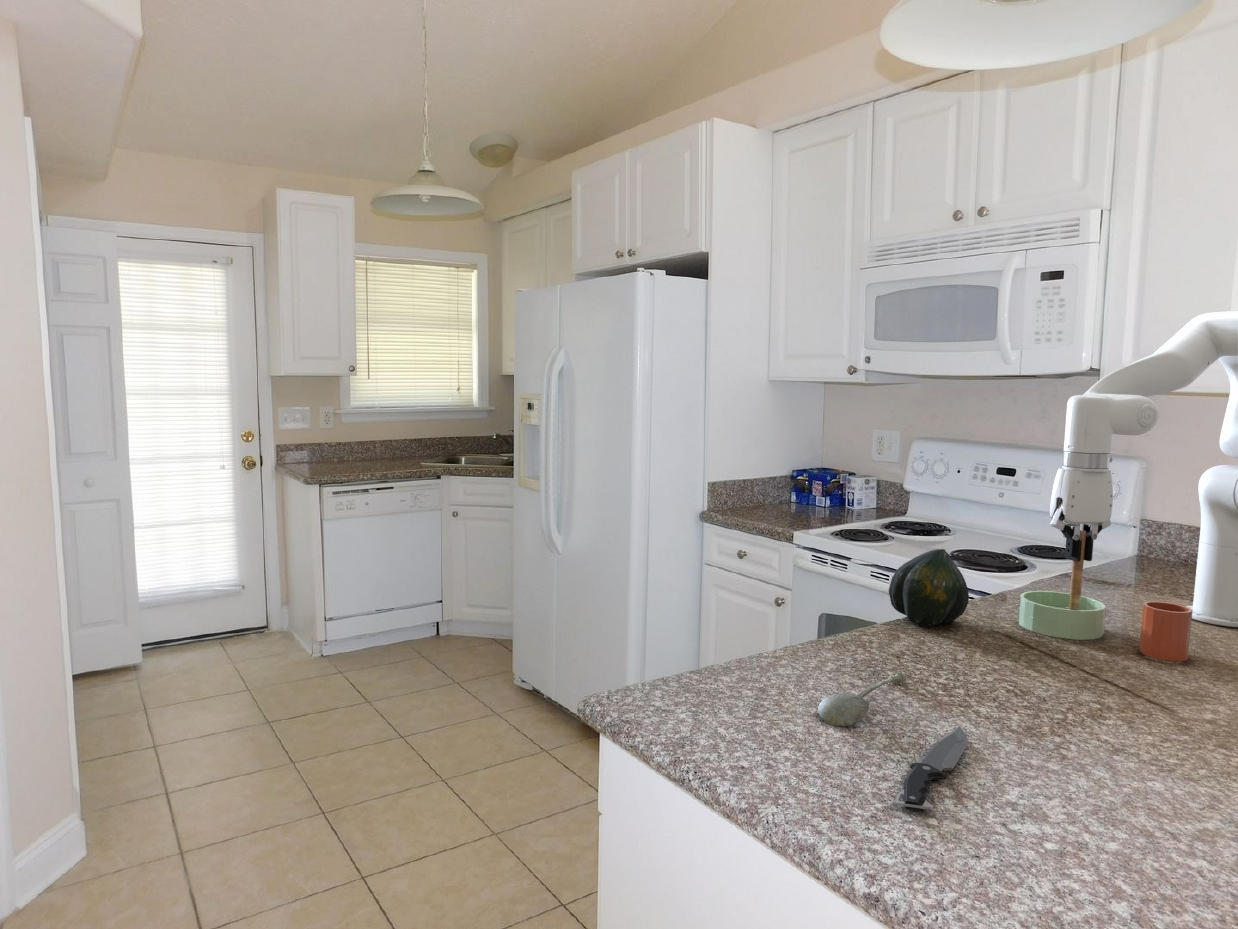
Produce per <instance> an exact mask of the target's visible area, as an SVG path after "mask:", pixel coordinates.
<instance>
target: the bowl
mask: <svg viewBox="0 0 1238 929" xmlns="http://www.w3.org/2000/svg"><path fill="white" fill-rule="evenodd" d="M1069 601H1070V592H1061V591H1055V590H1054V591H1053V590H1052V591H1051V590H1029V591H1025V592H1022V593H1021V594H1019V607H1018V619H1017V620H1018V625H1019V626H1021V627H1022V628H1023V629H1025V630H1028V631H1030V632H1032V633H1036V634H1039V635H1043V636H1047V637H1052V638H1057V639H1065V640H1075V641H1077V640H1078V641H1087V640H1097V639H1101V638H1102V637H1104V634H1105V621H1106V613H1107V612H1106V611H1107V606H1106V604H1105V603H1104V602H1101V601H1099V600H1097V599H1094V598H1092V597H1088V596H1084V595H1081V602H1080V610H1070V609H1066V607H1069Z"/></svg>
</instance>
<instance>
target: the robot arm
mask: <svg viewBox="0 0 1238 929" xmlns="http://www.w3.org/2000/svg"><path fill="white" fill-rule="evenodd" d="M1217 361H1219V363H1220V364H1221V366H1222V367H1223V369H1224V371H1225V373H1226V375H1227V378H1228V381H1229V388H1230V389H1229V397H1228V402H1227V405H1226V410H1225V413H1224V417H1223V422H1222V426H1221V429H1220V435H1219V449H1220V451H1221V452H1222V453H1223V454H1224V455H1226V456H1228V457H1229V458H1234V459H1238V310H1226V311H1225V310H1223V311H1212V312H1205V313H1202V314H1199V315H1197V316H1195V317H1193V318H1191V320H1190V321H1188V322H1186V324H1184V326H1182V327H1181V328H1180V329H1179V330H1178V331H1177V332H1176V333H1174V334H1173V336H1171V337H1170V338H1168V340H1166V342H1164V343H1163V344H1162V345H1161V346H1160V347H1159V348H1158V349H1157V350H1155V352H1153V353H1152V354H1150V355H1148V356H1145V357H1142V358H1141V359H1138V360H1136V361H1133V362H1132V363H1130V364H1127V365H1125V366H1122V367H1120V368H1119V369H1116V370H1114V371H1111V372H1110V373H1108V374H1106V375H1104V376H1103V377H1102V378H1101V379H1099V380H1098V381H1096V382H1095V383H1094V384H1093V385H1091V387H1090V388H1089V389H1087V390H1086V391H1085V392H1084V393H1083V394H1076V395H1075V394H1074V395H1072V396H1070V397H1069V399H1068V400H1067V403H1066V413H1065V426H1064V427H1065V428H1064V441H1063V452H1062V453H1063V454H1062V464H1061V465H1062V466H1061V467H1059V468H1058V469H1057V472H1056V474H1055V477H1054V482H1053V485H1052V490H1051V497H1050V505H1049V518H1051V522H1050V526H1051V527H1052V528H1055V529H1057V530H1058V531H1060V533H1062V537H1063V538H1065V549H1064V558H1065V559H1066V560H1069V561H1072V562H1073V561H1076V562H1079V561H1080V560H1081V548H1082V541H1081V540H1079V537H1080V530H1085V531H1086V539H1085V551H1084V561H1086V562H1092V560H1093V552H1094V541H1096V540H1097V539H1098V535H1099V534H1100V533H1101V531H1102V530H1104V529H1106V528H1109V527H1110V526H1111V525H1112V523H1111V517H1112V513H1113V504H1114V503H1113V502H1114V498H1113V497H1114V492H1113V491H1114V488H1113V478H1112V477H1113V476H1112V470H1111V469H1110V464H1111V463H1112V462H1113V457H1112V455H1111V451H1112V450H1111V449H1112V439H1113V435H1117V436H1133V437H1134V436H1140V435H1144V434H1147V433H1148V432H1150V431H1151V430H1153V429H1154V428H1155V427H1156V425H1157V424H1158V422H1159V419H1160V410H1159V408H1158V405H1157V404H1156V403H1155V402H1154V400H1152V399H1151V398H1149V397H1152V396H1153V397H1154V396H1158V395H1162V394H1167V393H1171V392H1175V391H1178V390H1181V389H1183V388H1186V387H1188V386H1190V385H1191V384H1193V382H1195V380H1196V379H1198V378H1199V377H1200V376H1201V375H1202V374H1203V373H1204V372H1205V371H1206V370H1207V369H1208V368H1210V367H1211V366H1212V365H1213V364H1214V363H1216V362H1217ZM1197 492H1198V499H1199V507H1200V508H1199V510H1200V530H1199V531H1200V532H1199V539H1198V540H1199V541H1198V549H1197V550H1198V551H1197V558H1196V559H1197V560H1196V570H1195V581H1194V590H1193V591H1194V592H1193V600H1192V601H1193V602H1192V605H1186V606H1185V607H1188V608H1190V609H1192V620H1195V621H1198V622H1201V623H1206V624H1210V625H1215V626H1222V627H1229V628H1238V464H1219V465H1215V466H1212V467H1210V468H1208V469H1206V470H1205V471H1204V472H1203V473H1202V474H1201V476H1200V478H1199V480H1198V488H1197Z"/></svg>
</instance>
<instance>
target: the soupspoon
mask: <svg viewBox="0 0 1238 929" xmlns="http://www.w3.org/2000/svg"><path fill="white" fill-rule="evenodd" d="M894 674H895V675H891V676H889V677H888V678H886V679H883V680H881V681H879V682H876V683H875V684H873V685H871V686H869V687H867V688H865V689H863V690H862V691H860V692H859V693H857V694H853V693H846V692H845V693H843V692H841V693H834V694H831V695H828V696H826V697H825V698H823V699H822V700H821V702H820V703H819V704H818V707H817V711H818V716H819V717H820V718H821V719H822V721H824V722H825V723H827V724H829V725H831V726H838V727H850V726H853V725H856V724H858V723H859V722H861V721H862V720H863V718H864V717H866V715H867V714H868V712H869V709H870V705H869V702H868V701H867V700H866V699H864V697H866V696H867V695H869V694H870V693H872V692H873V691H875V690H876V689H878V688H880V687H883V686H884V685H886V684H889V683H897V684H899V685H902V684H904V683H905V682H906V675H905V674H904V673H903V672H896V673H894Z"/></svg>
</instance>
